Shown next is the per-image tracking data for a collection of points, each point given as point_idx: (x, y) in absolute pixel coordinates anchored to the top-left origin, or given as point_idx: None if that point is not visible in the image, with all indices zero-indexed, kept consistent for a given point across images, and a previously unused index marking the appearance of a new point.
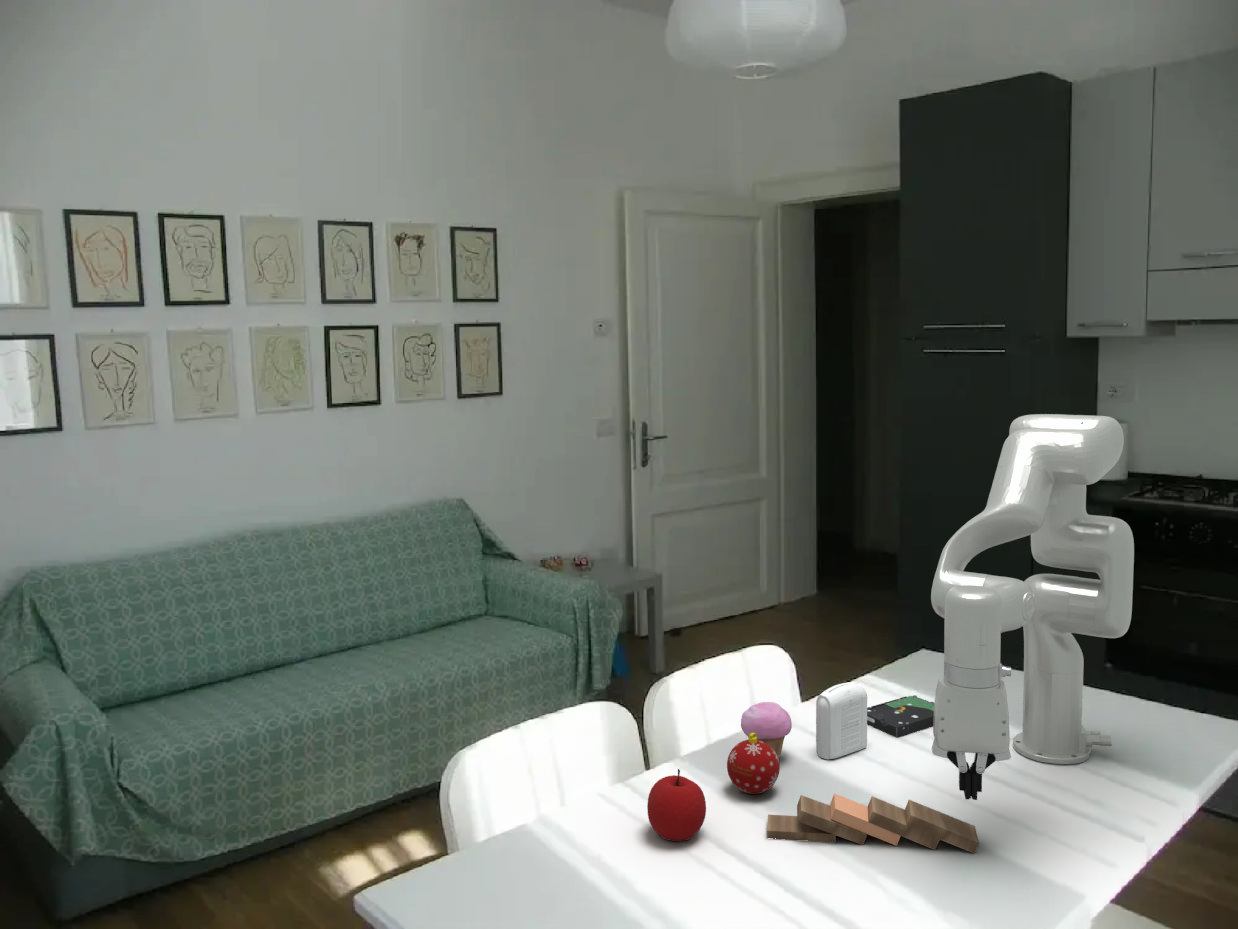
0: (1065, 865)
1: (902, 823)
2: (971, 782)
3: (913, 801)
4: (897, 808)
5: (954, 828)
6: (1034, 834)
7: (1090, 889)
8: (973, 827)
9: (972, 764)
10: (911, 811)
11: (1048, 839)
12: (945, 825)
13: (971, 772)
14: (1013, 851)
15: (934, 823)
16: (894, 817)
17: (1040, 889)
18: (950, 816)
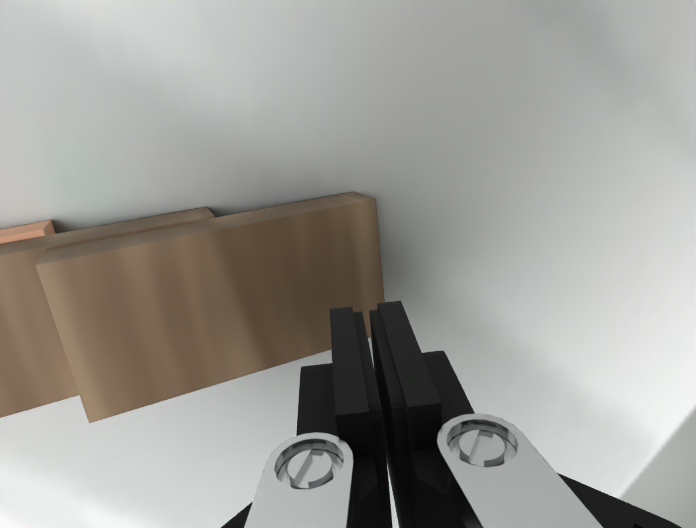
0: (652, 304)
1: (71, 394)
2: (388, 450)
3: (65, 263)
4: (8, 275)
5: (292, 323)
6: (605, 101)
7: (680, 413)
8: (369, 220)
9: (420, 505)
10: (82, 384)
11: (649, 130)
12: (253, 341)
13: (399, 500)
14: (500, 259)
15: (206, 378)
16: (22, 383)
17: (541, 450)
18: (268, 224)
